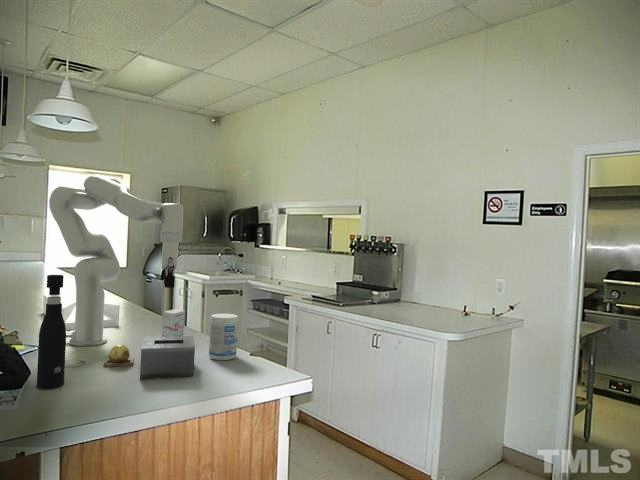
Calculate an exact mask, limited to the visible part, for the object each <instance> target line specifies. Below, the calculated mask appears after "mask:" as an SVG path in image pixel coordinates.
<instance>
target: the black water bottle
mask: <svg viewBox="0 0 640 480" xmlns="http://www.w3.org/2000/svg"><path fill="white" fill-rule="evenodd" d="M46 288H48V289H49V293H48V295H50V297H48V299H47V300H48V301H47V302H48V303H47V304H46V314H44V317H43V318H42V319H43V320H42V321H41V325H40V328H39V332H38V350H37V351H38V352H37V366H36V367H37V369H36V370H37V371H36V389H38V390H54V389H58V388H61V387H63V386H64V385H65V369H66V367H65V366H66V347H67V346H66V345H67V344H66V343H67V338H66V332H67V330H66V327H65V322H64V319H63V316H62V303H61V297H62V296H60V295H61V289H62V288H64V275H63V274H48V275H46Z"/></svg>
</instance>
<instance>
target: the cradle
mask: <svg viewBox="0 0 640 480" xmlns="http://www.w3.org/2000/svg"><path fill="white" fill-rule="evenodd" d="M134 358H135V357H134ZM134 358H128V360H127V362H126V363H111V362H110V361H109V358H106V359H105V360H104V362H103V364H102V366H103V367H104V368H109V367H110V368H111V367H114V368H115V367H132V366H133V364H134V363H135V359H134Z"/></svg>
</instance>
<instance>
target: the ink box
mask: <svg viewBox="0 0 640 480" xmlns="http://www.w3.org/2000/svg"><path fill="white" fill-rule="evenodd" d="M185 314H186V310H183V309H175V308H174V309H170V310H165V311H163V315H162V316H163V317H162V328H161V336H184V330H185V328H184V327H185Z"/></svg>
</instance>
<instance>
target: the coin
mask: <svg viewBox="0 0 640 480" xmlns="http://www.w3.org/2000/svg"><path fill="white" fill-rule="evenodd" d="M130 352H131V351H130V348H129V347H128V346H127V345H125V344H115V345H114V346H113V347H112V348H111V349H110V351H109V353H108V359H109V361H110V362H111V363H128V362H127V360H128V359H130V356H131V353H130Z"/></svg>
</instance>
